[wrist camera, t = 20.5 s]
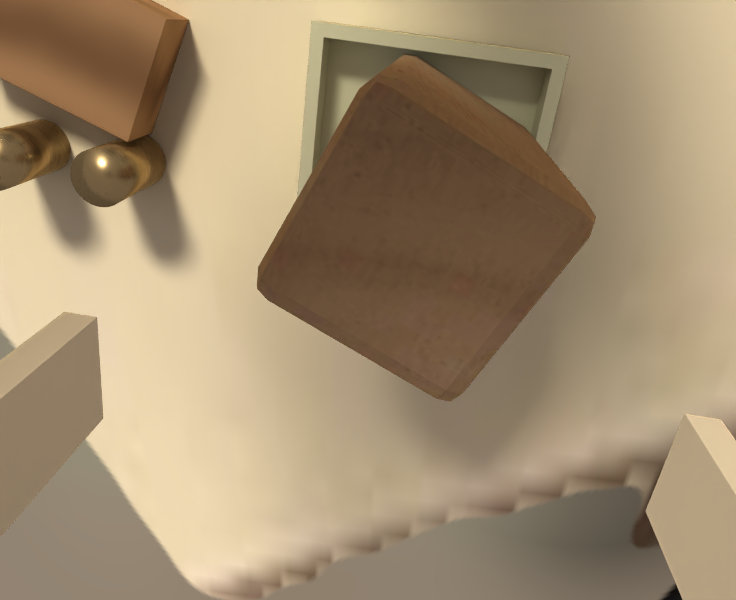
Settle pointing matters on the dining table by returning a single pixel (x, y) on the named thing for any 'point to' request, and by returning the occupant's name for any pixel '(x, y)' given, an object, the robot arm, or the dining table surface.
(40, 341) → the robot arm
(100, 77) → the wooden book-shaped slab
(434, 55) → the tray
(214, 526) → the dining table surface
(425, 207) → the block
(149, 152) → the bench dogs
